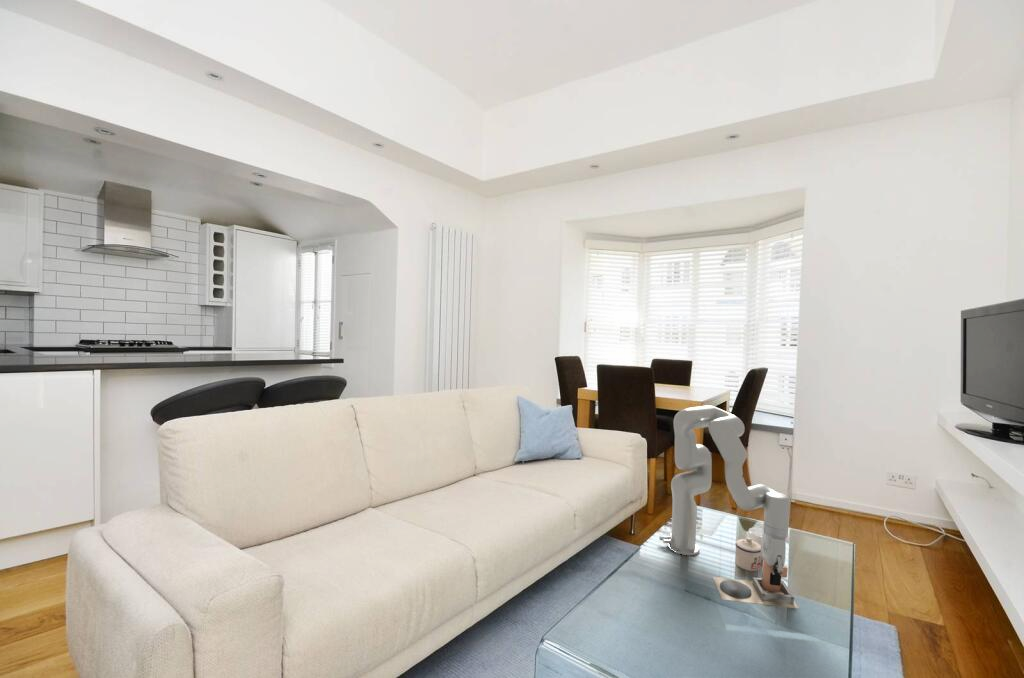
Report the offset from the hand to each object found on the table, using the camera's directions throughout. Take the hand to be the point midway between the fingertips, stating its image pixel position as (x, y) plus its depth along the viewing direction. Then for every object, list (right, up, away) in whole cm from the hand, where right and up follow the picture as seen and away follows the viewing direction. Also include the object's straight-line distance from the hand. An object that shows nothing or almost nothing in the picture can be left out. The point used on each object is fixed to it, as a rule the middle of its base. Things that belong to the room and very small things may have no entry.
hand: (771, 578), depth 168 cm
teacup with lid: (+2, -5, +20) cm, 21 cm away
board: (-6, -6, +1) cm, 9 cm away
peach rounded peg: (0, -3, 0) cm, 3 cm away
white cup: (+9, -5, +28) cm, 30 cm away
